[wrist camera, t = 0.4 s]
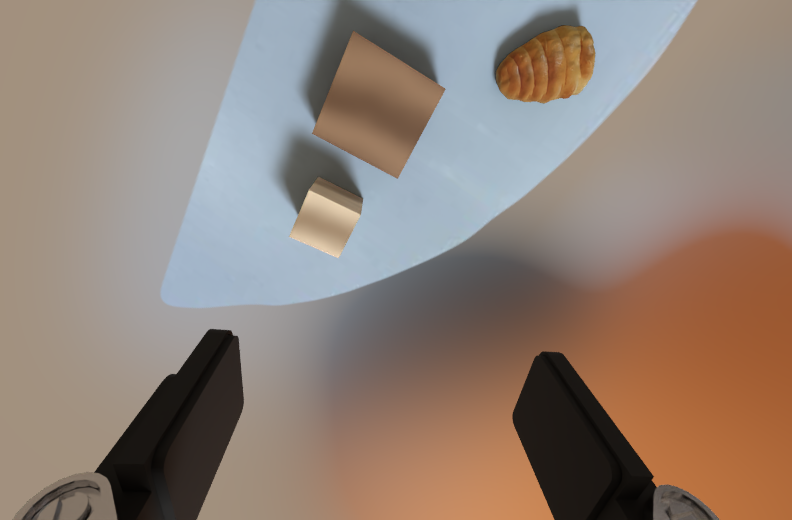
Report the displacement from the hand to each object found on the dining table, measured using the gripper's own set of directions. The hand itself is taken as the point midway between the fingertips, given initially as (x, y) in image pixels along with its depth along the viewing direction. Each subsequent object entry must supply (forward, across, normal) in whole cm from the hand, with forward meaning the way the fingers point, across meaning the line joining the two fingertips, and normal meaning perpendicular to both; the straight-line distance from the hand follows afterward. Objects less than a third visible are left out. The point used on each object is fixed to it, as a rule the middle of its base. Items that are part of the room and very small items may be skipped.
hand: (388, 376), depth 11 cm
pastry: (+33, -17, -13) cm, 39 cm away
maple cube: (+34, +5, +5) cm, 34 cm away
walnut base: (+33, +1, -7) cm, 34 cm away
